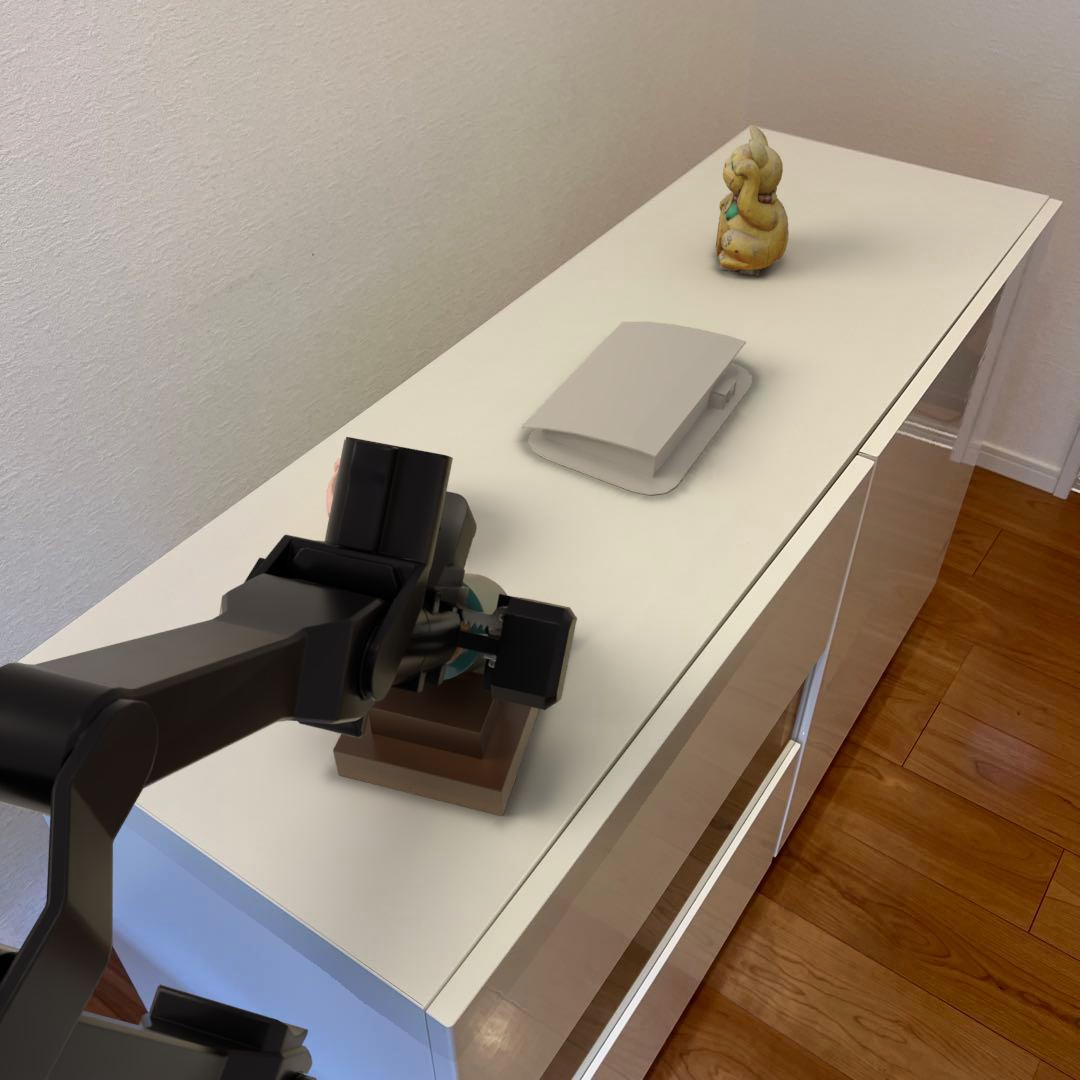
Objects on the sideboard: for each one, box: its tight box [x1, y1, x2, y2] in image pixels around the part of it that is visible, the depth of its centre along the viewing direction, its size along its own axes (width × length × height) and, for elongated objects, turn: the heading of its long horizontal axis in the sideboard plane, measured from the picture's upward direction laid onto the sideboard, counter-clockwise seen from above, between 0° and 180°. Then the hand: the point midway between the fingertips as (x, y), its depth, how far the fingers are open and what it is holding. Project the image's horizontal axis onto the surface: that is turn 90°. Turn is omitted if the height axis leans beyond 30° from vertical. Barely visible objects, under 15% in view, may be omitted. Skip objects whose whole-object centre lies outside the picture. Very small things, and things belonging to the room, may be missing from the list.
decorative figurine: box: [715, 124, 790, 277], centre depth 120 cm, size 10×8×15 cm
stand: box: [332, 667, 540, 817], centre depth 77 cm, size 16×12×6 cm
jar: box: [443, 572, 508, 680], centre depth 74 cm, size 11×7×11 cm, turn 164°
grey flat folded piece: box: [521, 321, 753, 496], centre depth 104 cm, size 15×23×4 cm, turn 150°
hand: (455, 622), depth 74 cm, fingers closed on jar, 7 cm apart
